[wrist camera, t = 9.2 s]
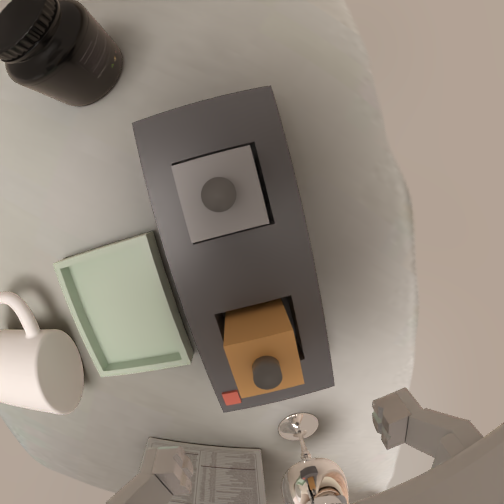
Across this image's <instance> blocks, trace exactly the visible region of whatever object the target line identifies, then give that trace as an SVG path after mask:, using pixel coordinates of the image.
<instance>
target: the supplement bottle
mask: <svg viewBox="0 0 504 504" xmlns="http://www.w3.org/2000/svg"><path fill="white" fill-rule="evenodd" d="M0 59H1V60H2V61H4V62H5V66H6V70H7V73H8V75H9V77H10V78H11V79H12V80H13V81H14V82H16V83H18V84H20V85H22V86H25V87H27V88H30V89H32V90H34V91H37V92H39V93H42V94H44V95H46V96H49V97H51V98H54V99H56V100H58V101H61V102H63V103H65V104H68V105H71V106H84V105H88V104H91V103H93V102H95V101H97V100H98V99H100V98H101V97H103V96H104V95H105V94H106V93H107V92H108V91H109V90H110V89H111V88H112V86H113V85H114V84H115V82H116V80H117V78H118V76H119V74H120V71H121V67H122V54H121V51H120V49H119V47H118V46H117V44H116V43H115V42H114V41H113V39H112V38H111V37H110V36H109V35H108V34H107V32H106V31H105V30H104V29H103V28H102V27H101V25H100V24H99V23H98V22H97V21H96V20H95V19H94V17H93V16H92V15H91V14H90V13H89V12H88V11H87V9H86V8H85V7H84V6H83V5H82V4H81V3H79V2H78V1H76V0H12V1H11V2H10V3H8V4H7V6H6V7H5V8H4V9H3V10H2V11H1V13H0Z"/></svg>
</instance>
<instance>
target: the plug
mask: <svg viewBox="0 0 504 504" xmlns="http://www.w3.org/2000/svg"><path fill="white" fill-rule="evenodd" d="M223 347H224V350H225V353H226V356H227V359H228V362H229V365H230V368H231V371H232V374H233V376H234V379H235V382H236V385H237V388H238V390H239V393H240V396H241V398H246V397H251V396H256V395H261V394H265V393H269V392H274V391H278V390H282V389H286V388H290V387H294V386H298V385H302V384H305V383H304V379H303V374H302V369H301V364H300V359H299V354H298V350H297V345H296V340H295V335H294V331H293V328H292V325H291V323H290V320H289V318H288V315H287V313H286V310H285V308H284V305H283V303H282V300H281V298H279V299H275V300H271V301H267V302H263V303H259V304H255V305H251V306H247V307H243V308H239V309H235V310H231V311H226V314H225V328H224V343H223Z"/></svg>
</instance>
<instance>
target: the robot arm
mask: <svg viewBox="0 0 504 504" xmlns="http://www.w3.org/2000/svg"><path fill="white" fill-rule="evenodd" d="M11 1H12V0H0V13H1V11H2V10H3V9H4V8H5V7H6V6H7V4H8V3H10V2H11ZM372 407H373V409H374V412H373V413H372V418H373V423H374V426H375V429H376V431H377V433H380V434H382V435H381V440H382V442H383V444H384V445H385V447H386V449H387V450H388V449H390V448H393V447H395V446H398V445H400V444H403V443H406V444H408V445H410V446H412V447H413V448H416V449H417V450H420V451H422V452H424V453H426V454H428V455H430V456H432V457H434V458H435V459H434V462H433V465H432V468H431V469H430V470H428V471H427V472H425V473H423V474H421V475H419V476H417V477H415V478H412V479H410V480H408V481H406V482H404V483H402V484H399V485H397V486H395V487H393V488H390V489H388V490H385V491H383V492H380V493H378V494H375V495H373V496H370V497H367V498H364V499H362V500H359V501H356V502H353V503H350V504H504V423H503V424H501V425H500V426H498V427H497V428H496V429H495V430H493V431H492V432H490V433H489V434H488V435H486V436H485V437H483V436H482V435H481V433H480V432H479V431H478V430H477V429H476V427H474V425H473V424H472V423H471V422H470V421H469V420H465V419H462V418H458V417H454V416H451V415H448V414H444V413H441V412H437V411H434V410H431V409H427V408H425V409H423V408H422V407H421V406H420V405H419V403H418V402H417V401H416V399H415V398H414V397H413V396H412V394H411V393H410V392H409V391H408V389H407V388H402V389H400V390H398V391H395V392H393V393H390V394H388V395H386V396H383V397H381V398H378V399H376V400H373V402H372ZM184 452H185V450H184V449H183V448H182V446H171V447H149V448H148V449H147V450H146V454H145V458H144V462H143V465H142V469H141V473H140V474H137V475H136V476H135V477H134V478H133V479H132V480H131V481H129V482H128V483H127V484H126V485H125V486H124V487H123V488H122V489H121V490H119V491H118V492H117V493H116V494H115V495H114V496H113V497H111V498H110V499H109V500H108V501H107V502H106V504H168V503H169V501H170V500H171V499H172V497H173V495H187V494H191V491H192V482H191V480H190V478H191V477H192V476H193V464H192V462H191V459H190V458H189V456H187V455H185V454H184Z"/></svg>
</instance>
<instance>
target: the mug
mask: <svg viewBox="0 0 504 504" xmlns="http://www.w3.org/2000/svg"><path fill="white" fill-rule="evenodd" d="M2 303H4V304H7V305H9V306H10V307H11V308H12V309H13V310H14V312H15V313H16V315H17V316H18V318H19V320H20V322H21V324H22V326H23V328H24V330H13V329H0V402H1V403H5V404H9V405H14V406H18V407H23V408H27V409H32V410H38V411H43V412H49V413H55V414H63V415H64V414H68V413H71V412H72V411H73V410H74V409H75V408H76V407H77V406H78V404H79V402H80V400H81V397H82V393H83V386H84V373H83V365H82V361H81V357H80V354H79V351H78V349H77V347H76V345H75V343H74V341H73V340H72V339H71V337H70V336H69V335H68V334H66V333H65V332H63V331H61V330H58V329H40V328H39V326H38V323H37V321H36V319H35V317H34V315H33V313H32V311H31V309H30V308H29V306H28V305H27V304H26V302H25V301H24V300H23V299H22V298H21V297H20V296H18V295H17V294H15V293H12V292H6V291H5V292H0V304H2Z"/></svg>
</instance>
